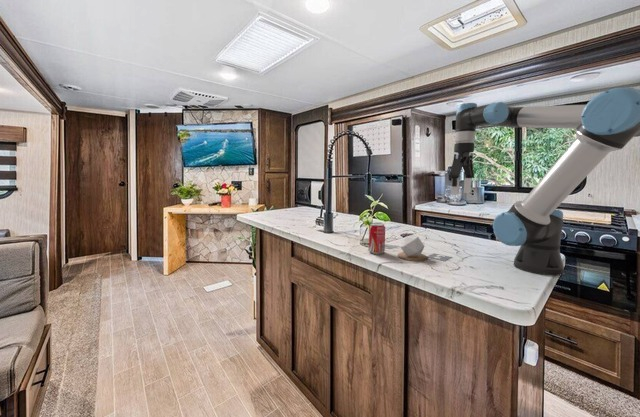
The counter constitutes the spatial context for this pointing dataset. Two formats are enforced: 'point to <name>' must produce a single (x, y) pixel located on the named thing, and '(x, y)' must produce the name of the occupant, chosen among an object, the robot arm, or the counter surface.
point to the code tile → (439, 257)
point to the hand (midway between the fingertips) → (461, 193)
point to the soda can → (377, 238)
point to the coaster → (403, 256)
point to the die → (412, 246)
